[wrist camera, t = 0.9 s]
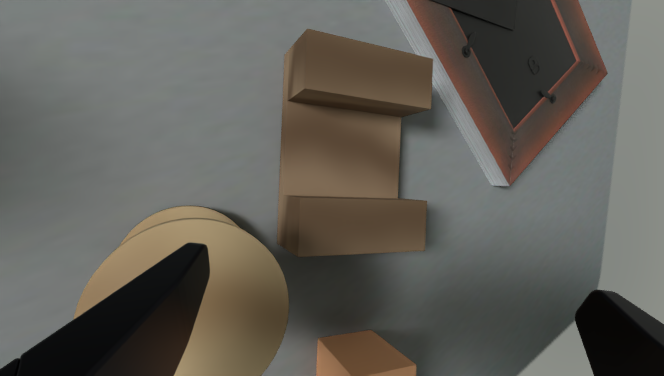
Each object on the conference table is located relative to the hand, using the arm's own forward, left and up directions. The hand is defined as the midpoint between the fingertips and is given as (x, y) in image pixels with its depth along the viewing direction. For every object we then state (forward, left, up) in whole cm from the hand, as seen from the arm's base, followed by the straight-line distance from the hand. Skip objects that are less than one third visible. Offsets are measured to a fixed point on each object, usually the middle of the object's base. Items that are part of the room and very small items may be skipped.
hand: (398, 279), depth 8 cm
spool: (-3, +4, -14) cm, 15 cm away
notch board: (+4, -5, -14) cm, 15 cm away
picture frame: (+16, -18, -15) cm, 28 cm away
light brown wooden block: (-10, -6, -14) cm, 18 cm away
